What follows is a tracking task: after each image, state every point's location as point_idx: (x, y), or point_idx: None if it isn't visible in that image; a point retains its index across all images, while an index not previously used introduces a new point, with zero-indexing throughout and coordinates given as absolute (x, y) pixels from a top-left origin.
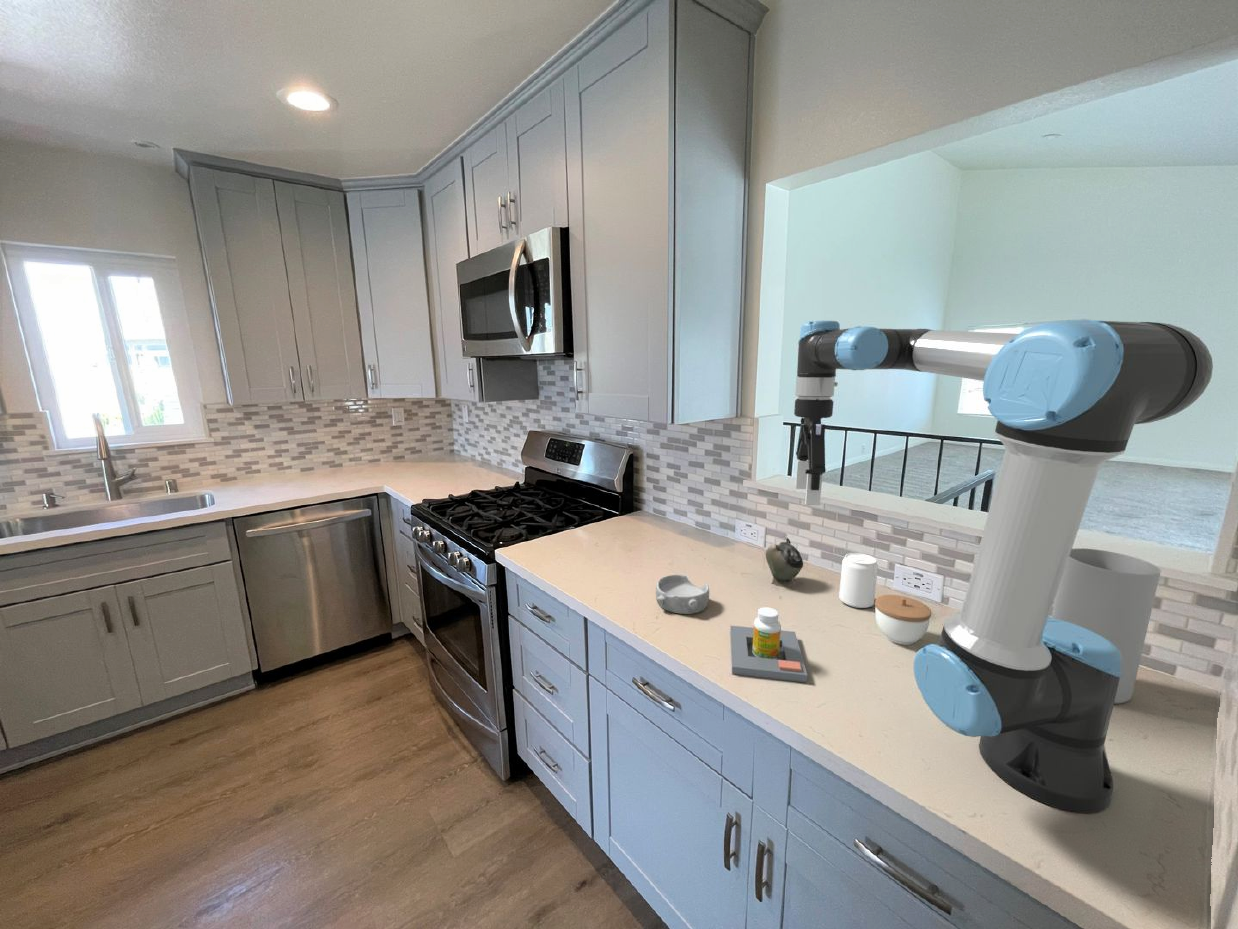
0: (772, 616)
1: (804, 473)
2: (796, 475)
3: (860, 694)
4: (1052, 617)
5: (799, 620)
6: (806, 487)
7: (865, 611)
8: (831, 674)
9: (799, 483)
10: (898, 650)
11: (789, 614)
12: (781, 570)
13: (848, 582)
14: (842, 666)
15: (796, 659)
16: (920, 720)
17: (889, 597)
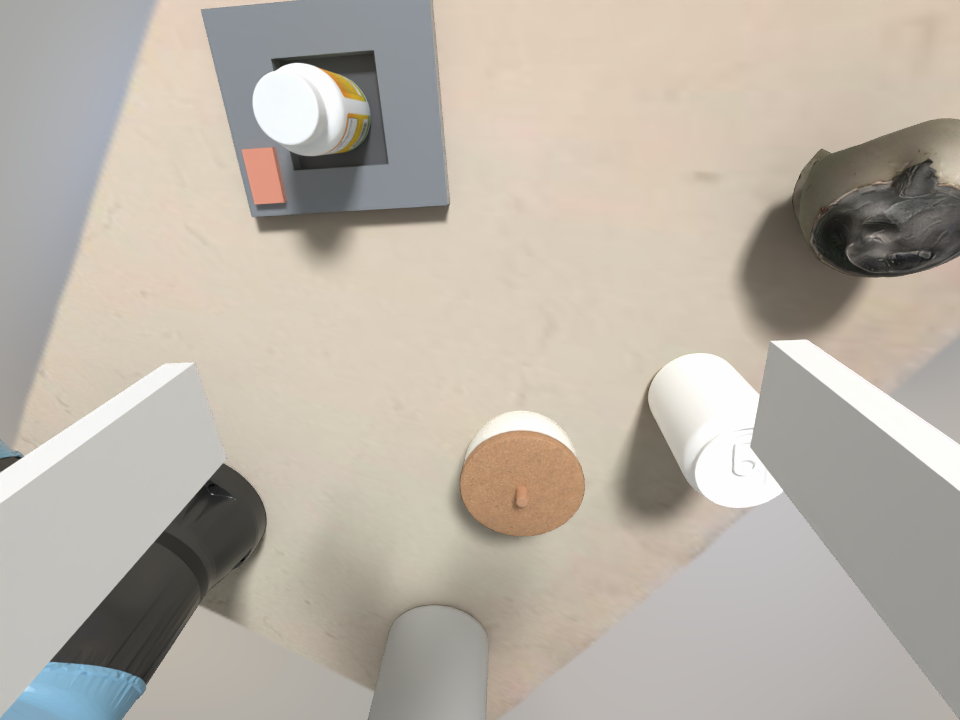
0: (259, 123)
1: (864, 523)
2: (890, 413)
3: (268, 318)
4: (440, 708)
5: (556, 225)
6: (73, 448)
7: (639, 401)
8: (316, 273)
9: (794, 399)
10: (463, 424)
11: (588, 199)
12: (808, 187)
13: (686, 395)
14: (358, 301)
15: (308, 196)
16: (236, 398)
17: (560, 473)
